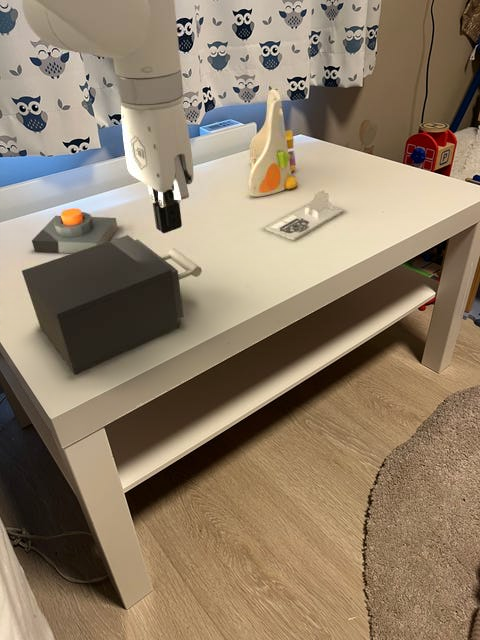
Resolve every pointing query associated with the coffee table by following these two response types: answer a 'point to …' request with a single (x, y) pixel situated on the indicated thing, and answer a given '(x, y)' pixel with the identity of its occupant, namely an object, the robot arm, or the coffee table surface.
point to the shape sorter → (272, 153)
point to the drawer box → (102, 301)
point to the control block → (74, 234)
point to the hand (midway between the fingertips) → (169, 228)
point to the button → (72, 216)
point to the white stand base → (305, 218)
